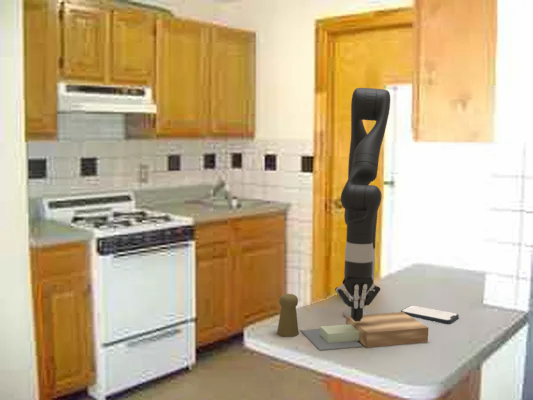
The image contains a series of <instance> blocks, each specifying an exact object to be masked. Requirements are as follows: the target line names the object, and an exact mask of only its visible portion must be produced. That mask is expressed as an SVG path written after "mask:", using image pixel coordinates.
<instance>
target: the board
mask: <svg viewBox="0 0 533 400" xmlns="http://www.w3.org/2000/svg"><path fill="white" fill-rule="evenodd" d="M348 324H351V325H352V326H354V327H355V328H356V329H357V330H358V331H360V337H359V341H358V342H359V343H360V344H361V345H362V344H363V345H362V346H364V347H366V348H374V347H375V348H376V347H384V346H397V345H398V344H399V345H408V344H419V343H420V344H421V343H428V341H429V327H428V326H427V325H425V324H424V323H422V322H421V321H419V320H416V319H415V317H411V316H409V315H407V314H406V313H404V312H401V311H399V312H398V311H397V312H387V313H386V312H385V313H372V314H367V315H363V317H362V319H361V321H357V322H355V321H354V320H353V319H352V318H351V316H346V317H345V325H348ZM399 345H398V346H399Z"/></svg>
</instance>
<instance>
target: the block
mask: <svg viewBox="0 0 533 400" xmlns="http://www.w3.org/2000/svg"><path fill="white" fill-rule="evenodd" d="M319 329H320V336H321V337H322V338H324V339H325V340H326V341H327V342H328V343H334V342H347V341H357V342H360V341H359V337H360V331H358V330H357V329H356V328H355V327H354V326H352V325H351V324H348V325H346V324H338V325H325V326H322V325H321V326H320V328H319Z"/></svg>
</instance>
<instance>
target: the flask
mask: <svg viewBox="0 0 533 400" xmlns="http://www.w3.org/2000/svg"><path fill="white" fill-rule="evenodd" d="M365 307H366V306H364V307H363V315H368V314H367V311H366V308H365ZM343 315H344V317H345V318H346V316H351V307H349V306H348V305H346V308H345V310H344V312H343Z"/></svg>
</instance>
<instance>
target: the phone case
mask: <svg viewBox="0 0 533 400" xmlns="http://www.w3.org/2000/svg"><path fill="white" fill-rule="evenodd" d="M400 312H404V313H406V314H407V315H409V316H410V317H411V316H412V318H417V319H420V318H421V319H422V320H426V321H429V320H430V321H431V322H434V321H435V322H434V323H438V324H439V323H440V324H444V325H451V324H453V323H454V322H456V321H457V320H459V319H460V315H459V314H458V313H454V312H449V311H446V310H445V311H444V310H438V309H433V308H428V307H422V306H417V305H409V306H407V307H405V308H404V309H402V310H400Z"/></svg>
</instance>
